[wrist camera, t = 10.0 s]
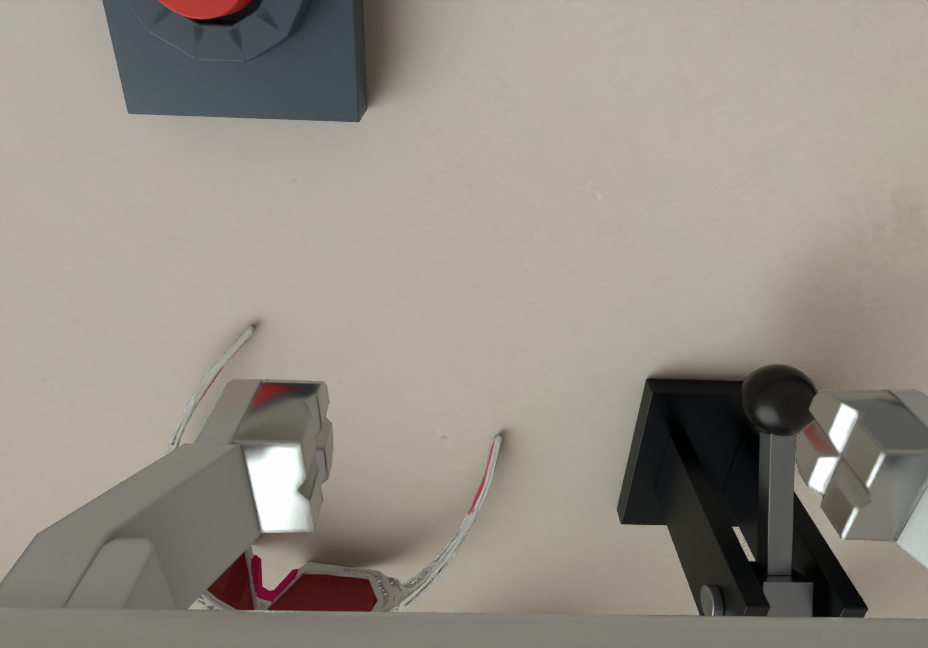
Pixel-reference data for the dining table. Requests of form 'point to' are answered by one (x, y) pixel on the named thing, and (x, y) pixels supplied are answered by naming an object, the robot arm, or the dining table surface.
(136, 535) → the robot arm
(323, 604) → the sunglasses
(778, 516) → the lever
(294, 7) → the grey base plate
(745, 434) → the switch bracket
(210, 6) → the button
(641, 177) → the dining table surface
